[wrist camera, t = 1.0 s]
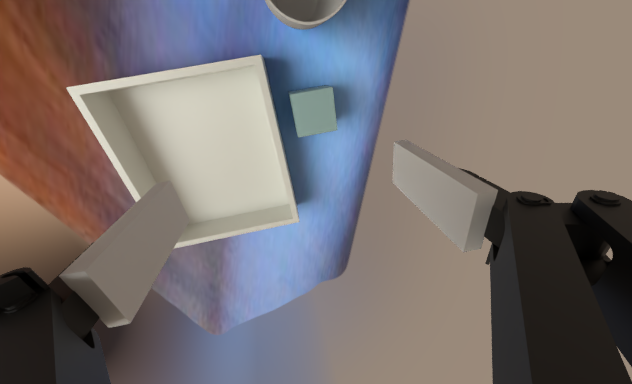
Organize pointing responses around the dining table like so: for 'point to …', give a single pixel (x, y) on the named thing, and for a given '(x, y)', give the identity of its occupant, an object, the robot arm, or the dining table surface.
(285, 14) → the cup
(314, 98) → the cube
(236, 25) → the dining table surface
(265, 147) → the tote
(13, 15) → the dining table surface
